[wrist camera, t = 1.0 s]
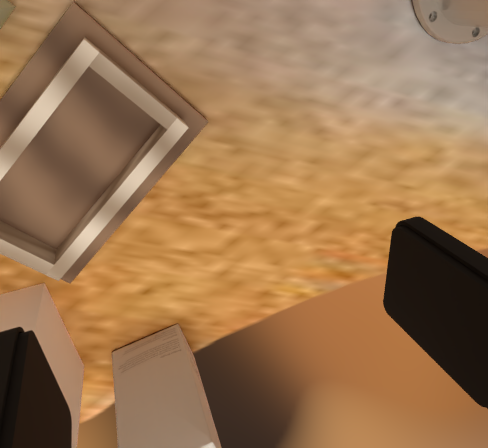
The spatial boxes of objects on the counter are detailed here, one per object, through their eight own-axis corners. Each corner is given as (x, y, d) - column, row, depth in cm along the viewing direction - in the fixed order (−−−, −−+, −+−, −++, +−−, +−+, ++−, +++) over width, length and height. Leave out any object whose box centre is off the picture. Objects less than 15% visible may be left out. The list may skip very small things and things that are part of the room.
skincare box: (131, 384, 48) (144, 526, 35) (108, 348, 45) (113, 491, 32) (197, 355, 49) (233, 483, 36) (180, 318, 46) (213, 445, 33)
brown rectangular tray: (73, 1, 29) (71, 2, 26) (205, 118, 36) (215, 129, 33) (-78, 206, 32) (-95, 226, 29) (70, 277, 39) (68, 299, 36)
